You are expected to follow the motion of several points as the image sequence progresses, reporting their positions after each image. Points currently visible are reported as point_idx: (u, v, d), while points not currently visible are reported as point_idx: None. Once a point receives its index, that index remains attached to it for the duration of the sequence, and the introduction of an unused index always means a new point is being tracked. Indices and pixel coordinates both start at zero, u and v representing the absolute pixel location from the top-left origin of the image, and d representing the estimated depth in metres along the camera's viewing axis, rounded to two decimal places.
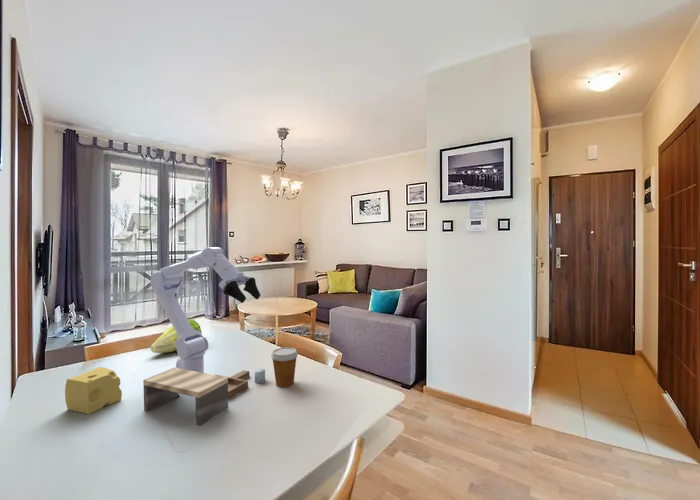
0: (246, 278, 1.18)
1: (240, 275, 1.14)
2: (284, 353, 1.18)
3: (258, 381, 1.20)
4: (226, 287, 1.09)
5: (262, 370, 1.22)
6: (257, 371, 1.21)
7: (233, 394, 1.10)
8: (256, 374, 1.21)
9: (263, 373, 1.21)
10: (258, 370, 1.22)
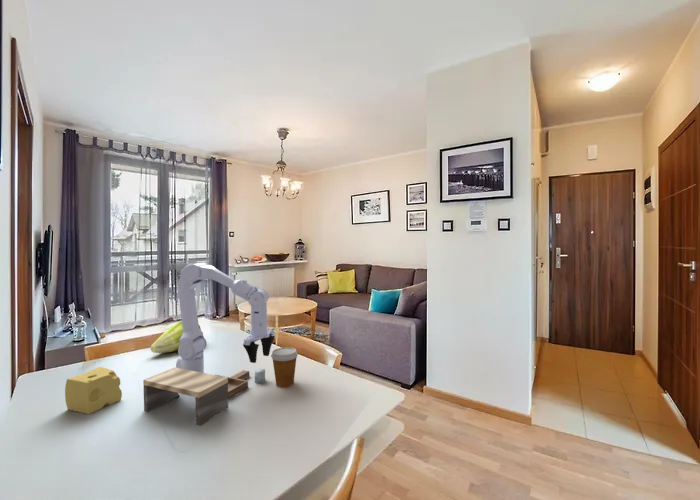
0: None
1: None
2: (284, 353, 1.18)
3: (258, 381, 1.20)
4: (248, 345, 1.16)
5: (262, 370, 1.22)
6: (257, 371, 1.21)
7: (233, 394, 1.10)
8: (256, 374, 1.21)
9: (263, 373, 1.21)
10: (258, 370, 1.22)
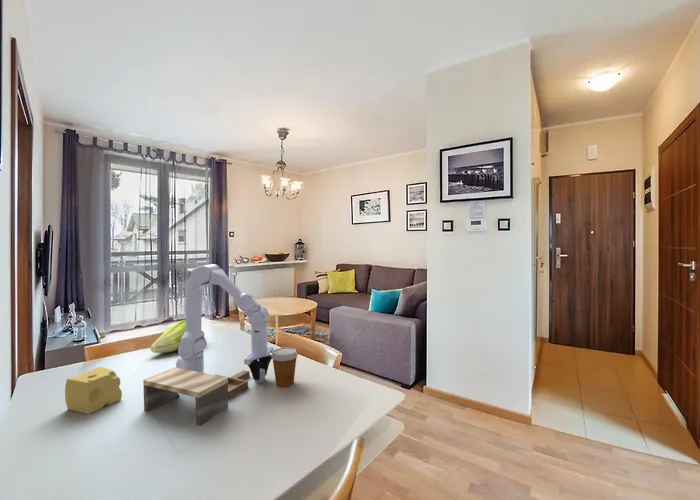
0: None
1: None
2: (284, 353, 1.18)
3: (258, 381, 1.20)
4: (251, 363, 1.18)
5: (262, 370, 1.22)
6: None
7: (233, 394, 1.10)
8: None
9: (263, 373, 1.21)
10: None
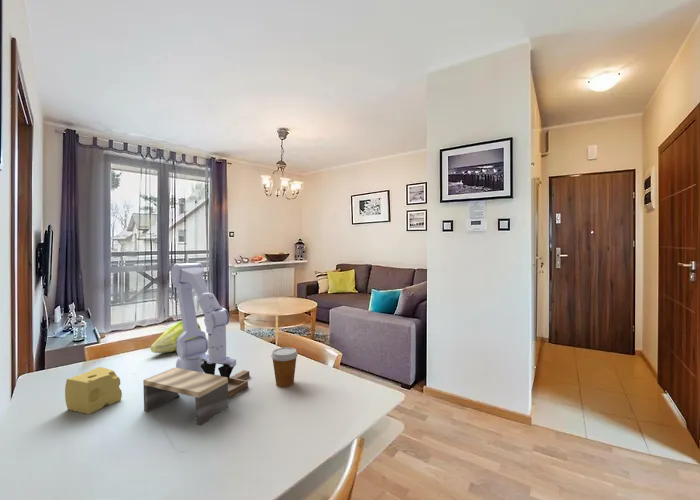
0: None
1: None
2: (284, 353, 1.18)
3: None
4: None
5: None
6: None
7: (233, 394, 1.10)
8: None
9: None
10: None
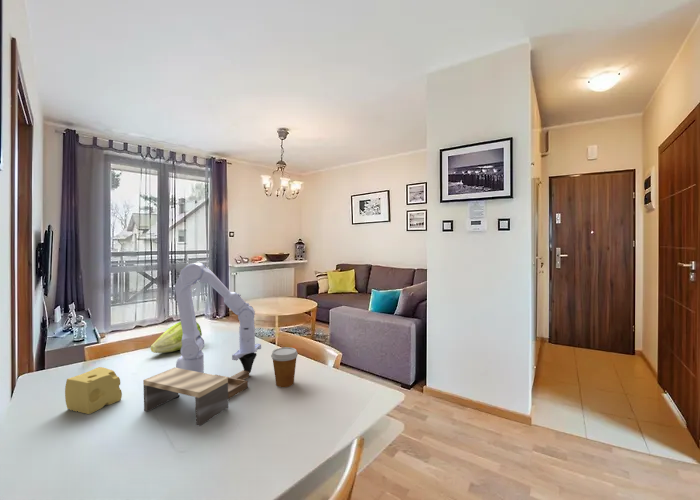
0: None
1: None
2: (284, 353, 1.18)
3: None
4: (242, 357, 1.25)
5: None
6: None
7: (233, 394, 1.10)
8: None
9: None
10: None
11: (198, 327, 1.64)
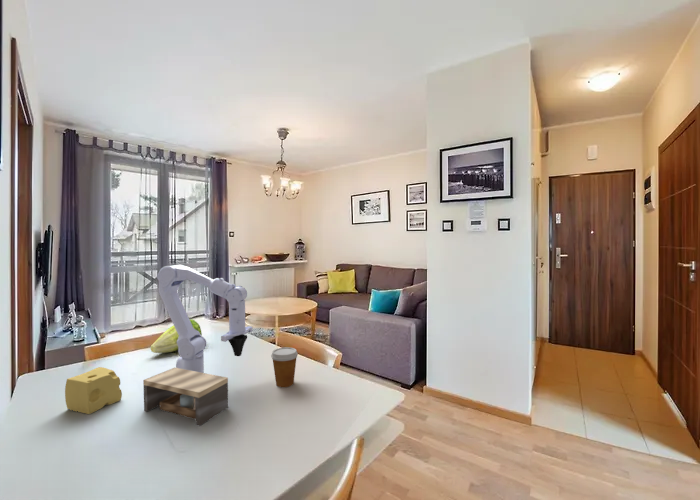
0: None
1: (243, 333, 1.21)
2: (284, 353, 1.18)
3: None
4: (232, 339, 1.20)
5: (185, 396, 1.00)
6: None
7: None
8: None
9: (181, 400, 1.00)
10: None
11: (198, 327, 1.64)
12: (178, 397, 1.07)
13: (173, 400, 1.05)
